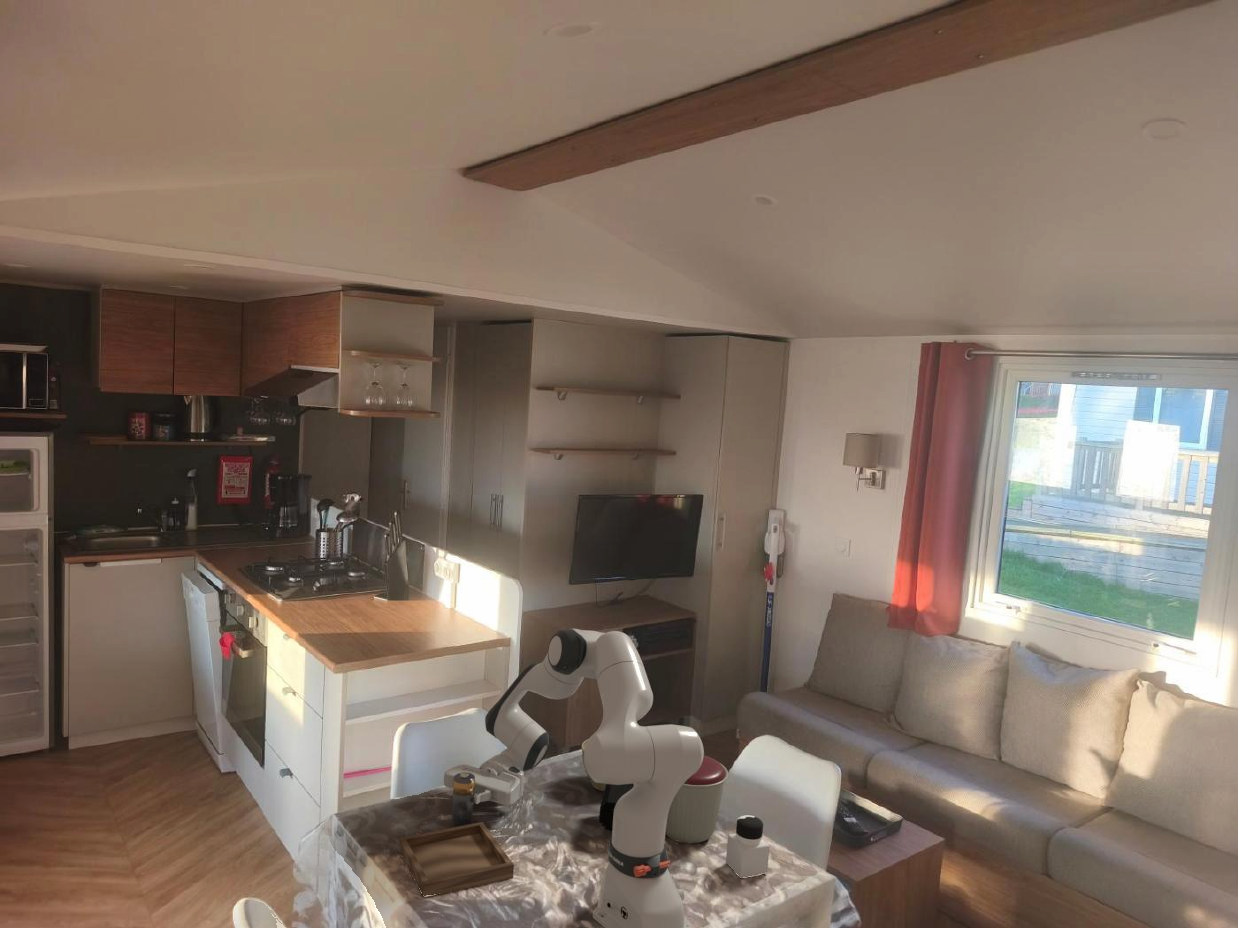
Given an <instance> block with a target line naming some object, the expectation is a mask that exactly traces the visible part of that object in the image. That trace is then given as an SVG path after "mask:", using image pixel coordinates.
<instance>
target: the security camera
mask: <svg viewBox="0 0 1238 928" xmlns="http://www.w3.org/2000/svg"><path fill="white" fill-rule="evenodd" d="M634 786H635V783H633V784H623V785H612V784H606V786H605V790H604V791H603V795H602V798H601V802H600V807H599V819H598V824H601V827H604V830H605V831H609V832H612V829H613V815H614V808H615V805H616V803H617V802H618V800H619V799H620V798H621V797H622V796H623V795H624V794H626V793H627V792H628V791H630V790H631V789H632V788H633V787H634Z"/></svg>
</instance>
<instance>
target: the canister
mask: <svg viewBox="0 0 1238 928" xmlns="http://www.w3.org/2000/svg"><path fill="white" fill-rule="evenodd" d="M728 777H729V771H728V769H727V768H726V767H725V766H724V765H723V764H722V763H721V762H720V761H717V760H716V759H714V758H712V757H710V756H707V755H705V754H704V756H703V761H702V764H701V766H700V768H699V770H698V771H697V772H696V773H695V774H693V775H692V776H691V777H690V778H689V779H687V780H686V782H685V783H684V784H683V785H682V786H681V788H680V789H679V791H678V792H677V794H676V795H675V797H674V799H673V801H672V803H671V806H670V809H669V812H668V817H667V823H666V831H665V836H667V837H668V838H670V839H671V840H674V841H676V842H678V843H683V844H692V843H693V844H700V843H704V842H706V841H707V840H708V839H710V838H711V837H712V835H713V834H714V832H715V829H716V825H717V820H718V817H719V812H720V806H721V803H722V802H721V801H722V797H723V792H724V787H725V782H726V781H727V779H728Z"/></svg>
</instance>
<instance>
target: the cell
mask: <svg viewBox="0 0 1238 928" xmlns="http://www.w3.org/2000/svg"><path fill="white" fill-rule="evenodd" d="M474 787H475V776H474V775H473V774H471V773H467V772H462V773H458V774H456V775H455V776H454V782H453V796H452V807H451V824H450V825H451V828H454V827H459V826H464V825H469V824H473V819H474V818H473V817H474V816H473V815H474V803H473V802H472V796H473V795H474Z"/></svg>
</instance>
